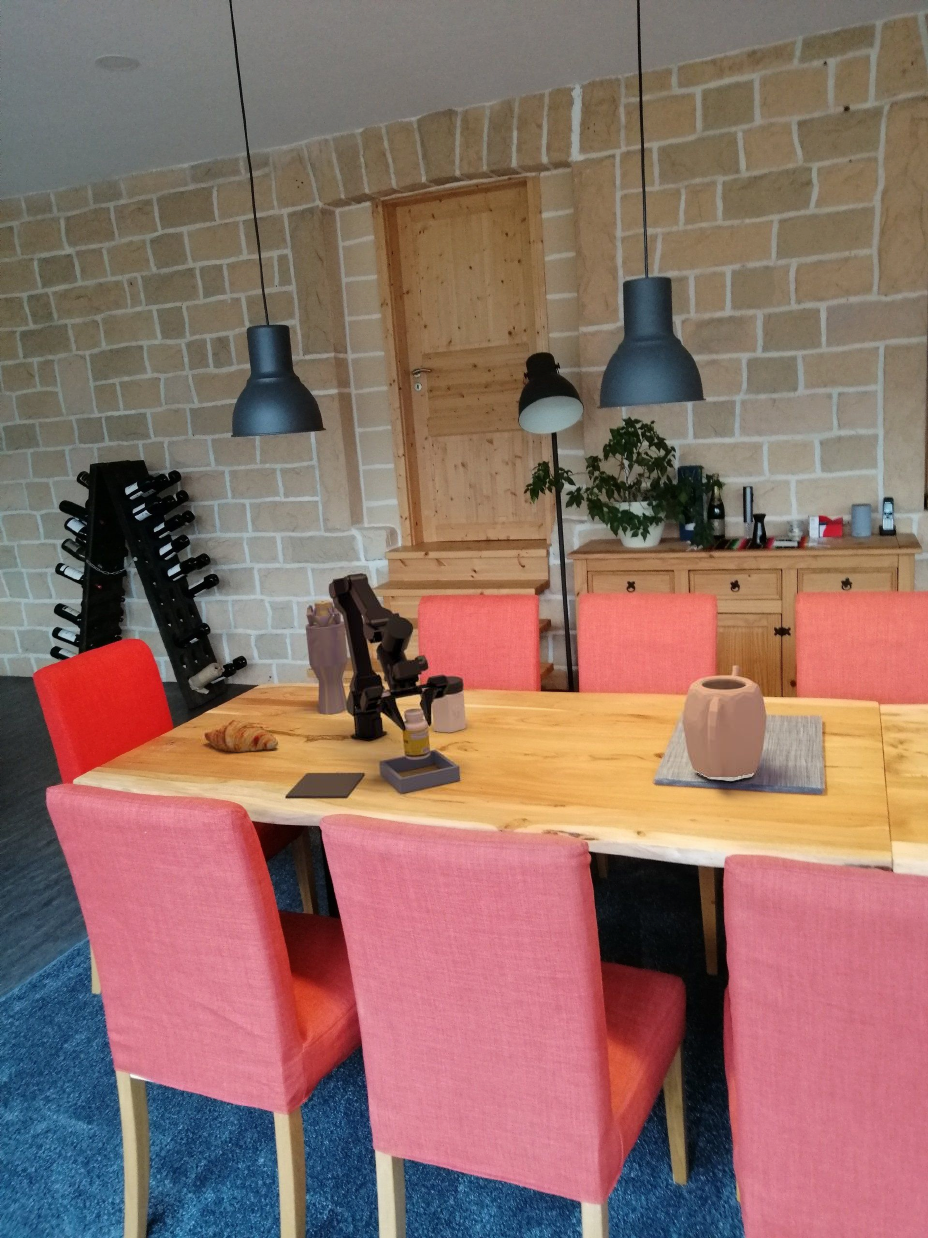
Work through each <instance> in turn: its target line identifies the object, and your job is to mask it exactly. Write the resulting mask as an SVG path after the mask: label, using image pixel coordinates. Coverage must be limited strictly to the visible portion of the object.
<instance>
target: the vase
mask: <svg viewBox="0 0 928 1238" xmlns="http://www.w3.org/2000/svg"><path fill="white" fill-rule="evenodd" d="M341 616H342V614H341V613H340V612H339V611H338V610H337V609H336V608H335V607H334V604H333V601H330V600H321V601H315V602H314V608H313V605H311V604H309V605H308V607H307V608H306V619H307V621H308V622H307V623H308V624H306V625H305V632H306V644H307V653H308V662H309V666H310V667H311V670H312V671H313V674H314V675H315V678H316V679H317V681H318V710H317V711H318V713H319V712H320V713H319V714H321V713H322V714H321V715H326V714H329V715H337V714H341V713H343V711H344V712H346V711H347V706H346V702H347V699H348V698H347V696H346V691H345V686H344V682H343V677H344V674H345V670H346V666H347V663H348V651H347V650H348V649H347V648H348V647H347V636H346V631H345V626H344V620H343V621H342V620H341V619H342V617H341ZM345 710H346V711H345ZM340 712H341V713H340ZM336 713H337V714H336Z"/></svg>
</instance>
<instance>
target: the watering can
mask: <svg viewBox="0 0 928 1238" xmlns="http://www.w3.org/2000/svg"><path fill="white" fill-rule="evenodd" d="M731 667H732V671H731V674H729V675H725V674H724V675H711V676H705V677H700V678H699V679H697V680H695V681H694V682H692V683H691V684H690V686H689V688H688V690H687V694H686V697H685V700H684V707H683V714H682V726H683V733H684V738H685V744H686V746H685V747H686V751H687V754H688V757H689V761H690V764H691V767H692V770H693V769H694V770H695V771H697V772H699V773H700V774H703V775H705V776H707V777H738V776H743V775H748V774H752V773H755V774H756V772H757V770H758V768H757V767H759V764H760V761H761V757H762V753H763V751H764V750H763V749H764V743H765V736H766V735H765V734H766V727H767V711H766V705H765V704H766V703H765V700H764V697H763V694H762V691H761V688H760V686H759V684H757V682H754V681H753V680H751V679H749V678H747V677H742V676H739V670H740V667H741V666H740V665H732V666H731ZM694 770H693V771H694Z"/></svg>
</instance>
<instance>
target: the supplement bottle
mask: <svg viewBox="0 0 928 1238" xmlns="http://www.w3.org/2000/svg"><path fill="white" fill-rule="evenodd" d="M403 714H404V716H403V717H404V720H403V721H404V724H405V728H406V729H405V731H402V738H403V739H402V740H403V751H404V756H405V757H406V758H408V759H410V760H419V759H424V758H427V757H428V756H429V755H430V751H431V745H430V734H429V726H428V723H427V721H426V720H425V717H424V714H423V710H422V709H421V708H409V709H406V710H405V711H404V712H403Z"/></svg>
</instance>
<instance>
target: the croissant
mask: <svg viewBox="0 0 928 1238" xmlns="http://www.w3.org/2000/svg"><path fill="white" fill-rule="evenodd" d="M204 738H205V740H206V741H207V742H208V743H209V744H211V745H212V746H213V748H216V749H217V750H218V749H219V750H221V751H224V752H232V753H243V752H256V751H262V750H265V751H268V750H273V749H275V748H276V747H278V745H279V741H278V740H277V738H276V737H275V736H274V735H273V734H271V733H269V732H268V731H267V730H266V729H264V727H263V726H254V725H253V724H252V723H250V722H249V721H246V720H240V719H239V720H238V719H237V720H236V719H232V720H231V721H230V722H228V723H227V725H225V724H224V725H222V727H220V728H219V729H213V730H211V731H208V732H205V733H204Z"/></svg>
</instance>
